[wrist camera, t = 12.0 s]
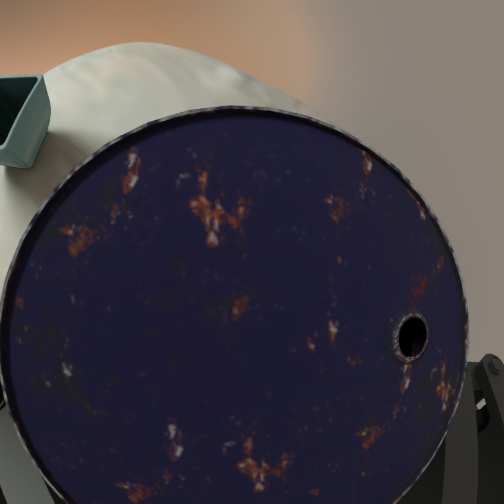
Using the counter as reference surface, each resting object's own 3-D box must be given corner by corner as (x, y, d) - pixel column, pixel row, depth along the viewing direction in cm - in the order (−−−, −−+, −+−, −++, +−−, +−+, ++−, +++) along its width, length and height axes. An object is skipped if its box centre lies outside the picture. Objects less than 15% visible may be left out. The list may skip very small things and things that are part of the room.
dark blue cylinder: (146, 405, 17) (95, 579, 3) (119, 256, 18) (-12, 144, 4) (292, 378, 19) (465, 471, 5) (268, 237, 21) (423, 118, 6)
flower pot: (67, 118, 29) (44, 72, 20) (40, 185, 27) (3, 150, 18) (16, 115, 27) (-12, 76, 18) (-11, 177, 25) (-49, 146, 17)
